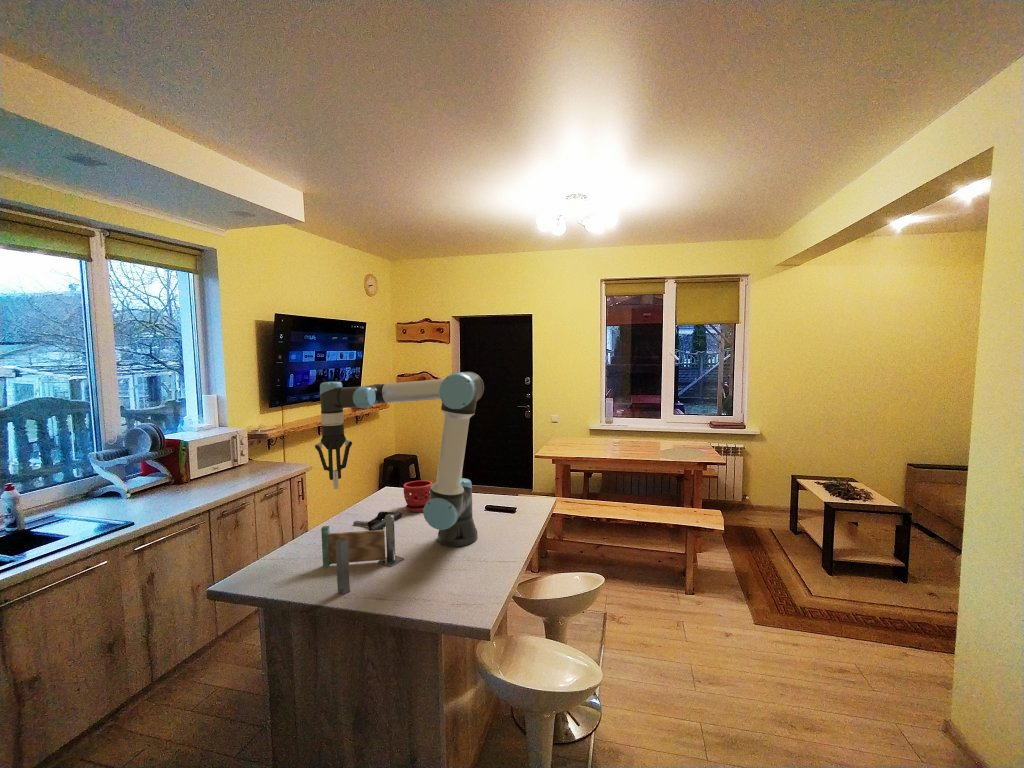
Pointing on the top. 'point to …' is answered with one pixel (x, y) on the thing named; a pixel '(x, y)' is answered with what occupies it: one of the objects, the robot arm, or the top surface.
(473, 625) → the top surface
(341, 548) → the post
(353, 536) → the wooden board
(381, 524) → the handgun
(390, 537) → the hinge post
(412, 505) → the plant pot
